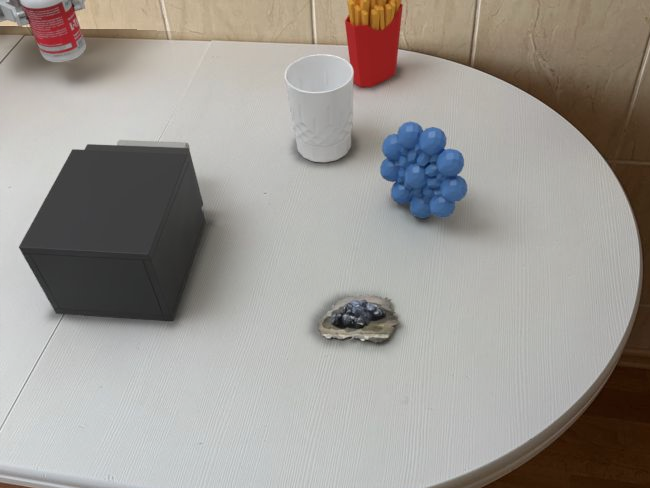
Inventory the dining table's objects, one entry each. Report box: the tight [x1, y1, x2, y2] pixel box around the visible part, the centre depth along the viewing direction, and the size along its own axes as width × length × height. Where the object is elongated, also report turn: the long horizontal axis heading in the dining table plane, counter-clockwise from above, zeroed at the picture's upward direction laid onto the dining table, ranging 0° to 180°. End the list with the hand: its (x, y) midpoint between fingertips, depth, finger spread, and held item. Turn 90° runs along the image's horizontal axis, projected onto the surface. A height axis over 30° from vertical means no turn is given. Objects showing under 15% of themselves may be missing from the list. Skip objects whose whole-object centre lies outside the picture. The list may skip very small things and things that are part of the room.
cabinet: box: [18, 148, 207, 322], centre depth 73 cm, size 15×13×10 cm
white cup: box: [283, 53, 354, 163], centre depth 84 cm, size 8×8×10 cm
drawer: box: [84, 139, 204, 207], centre depth 76 cm, size 18×11×8 cm, turn 173°
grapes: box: [379, 121, 468, 219], centre depth 75 cm, size 12×7×12 cm, turn 43°
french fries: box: [344, 0, 404, 88], centre depth 92 cm, size 8×4×12 cm, turn 128°
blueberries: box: [317, 294, 400, 344], centre depth 69 cm, size 7×8×2 cm
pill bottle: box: [20, 0, 87, 63], centre depth 93 cm, size 6×6×11 cm
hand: (50, 12), depth 92 cm, fingers closed on pill bottle, 6 cm apart
